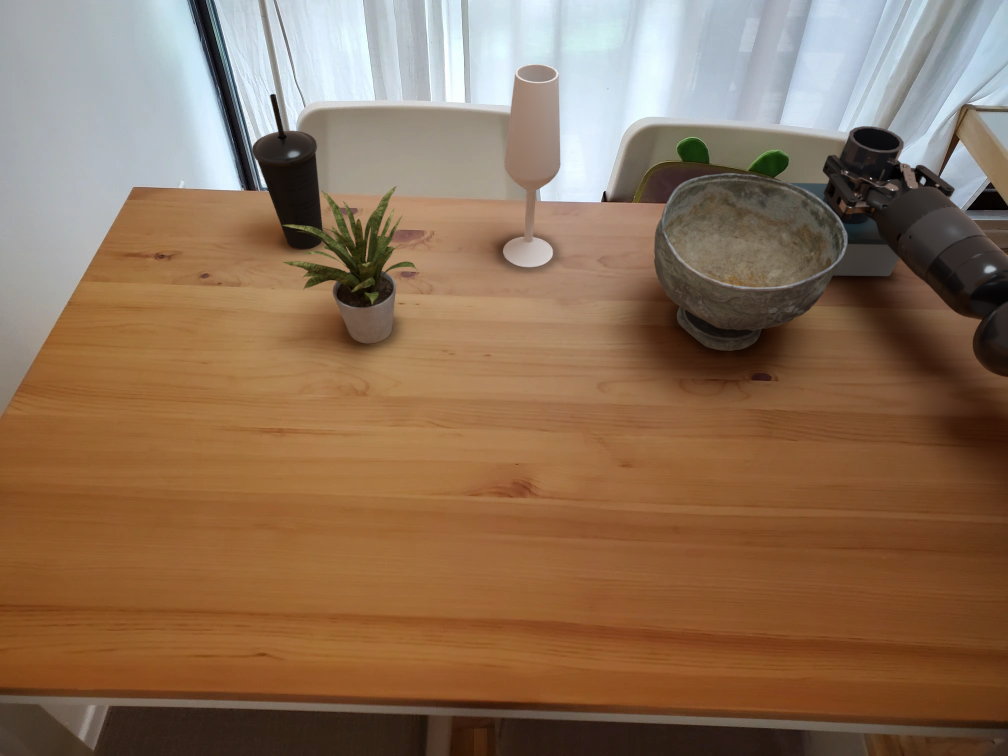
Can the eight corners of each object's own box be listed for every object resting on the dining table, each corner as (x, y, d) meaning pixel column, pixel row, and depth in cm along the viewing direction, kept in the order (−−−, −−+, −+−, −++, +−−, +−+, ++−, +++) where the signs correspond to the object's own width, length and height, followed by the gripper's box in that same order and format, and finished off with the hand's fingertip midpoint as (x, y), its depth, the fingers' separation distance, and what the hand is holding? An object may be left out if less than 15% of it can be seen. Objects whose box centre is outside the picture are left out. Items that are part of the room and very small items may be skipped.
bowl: (652, 385, 80) (678, 280, 69) (628, 274, 93) (647, 171, 82) (828, 385, 80) (882, 280, 69) (780, 275, 93) (819, 172, 82)
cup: (861, 197, 95) (892, 126, 88) (877, 224, 91) (912, 152, 84) (814, 196, 95) (842, 125, 88) (829, 223, 91) (859, 151, 84)
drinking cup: (329, 256, 94) (300, 111, 80) (270, 256, 94) (230, 110, 80) (338, 222, 100) (312, 80, 85) (282, 221, 99) (247, 79, 85)
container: (860, 221, 102) (877, 184, 97) (892, 278, 93) (912, 240, 89) (772, 219, 102) (784, 182, 97) (796, 276, 93) (811, 238, 89)
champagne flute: (541, 273, 93) (553, 92, 75) (494, 258, 95) (495, 79, 77) (561, 244, 97) (577, 67, 79) (515, 231, 99) (521, 55, 81)
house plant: (349, 272, 92) (328, 156, 80) (448, 297, 89) (442, 181, 77) (289, 344, 83) (255, 227, 71) (397, 376, 80) (381, 258, 68)
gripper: (1007, 201, 78) (917, 126, 89) (888, 215, 75) (810, 136, 86) (973, 257, 83) (891, 179, 94) (860, 272, 81) (791, 190, 92)
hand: (853, 159), depth 90 cm, fingers closed on cup, 6 cm apart
